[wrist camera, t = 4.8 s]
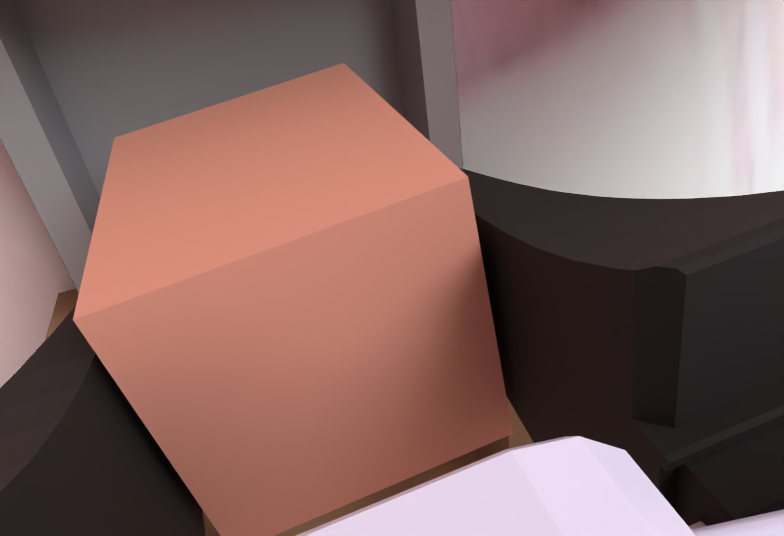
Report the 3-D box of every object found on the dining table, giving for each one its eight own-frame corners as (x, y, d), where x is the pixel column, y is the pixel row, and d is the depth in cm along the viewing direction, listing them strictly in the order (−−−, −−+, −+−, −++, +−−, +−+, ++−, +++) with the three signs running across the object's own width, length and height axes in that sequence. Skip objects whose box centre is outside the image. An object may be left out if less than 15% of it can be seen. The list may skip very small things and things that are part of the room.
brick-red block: (394, 252, 14) (513, 433, 9) (209, 321, 14) (232, 553, 9) (343, 63, 12) (467, 176, 7) (114, 137, 11) (73, 319, 6)
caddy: (473, 183, 20) (543, 250, 16) (490, 442, 26) (542, 531, 23) (58, 293, 17) (28, 400, 14) (192, 546, 24) (196, 663, 20)
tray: (453, -285, 13) (578, -368, 9) (485, 261, 21) (561, 349, 17) (-223, -208, 11) (-459, -273, 7) (93, 374, 19) (71, 508, 15)
